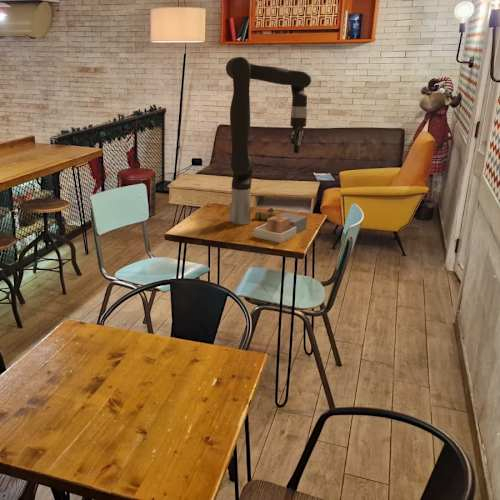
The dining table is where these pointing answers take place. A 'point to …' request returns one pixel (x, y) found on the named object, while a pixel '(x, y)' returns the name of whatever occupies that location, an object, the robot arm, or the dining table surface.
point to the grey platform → (296, 221)
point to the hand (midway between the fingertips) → (296, 152)
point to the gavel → (265, 214)
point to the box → (274, 234)
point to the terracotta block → (278, 224)
